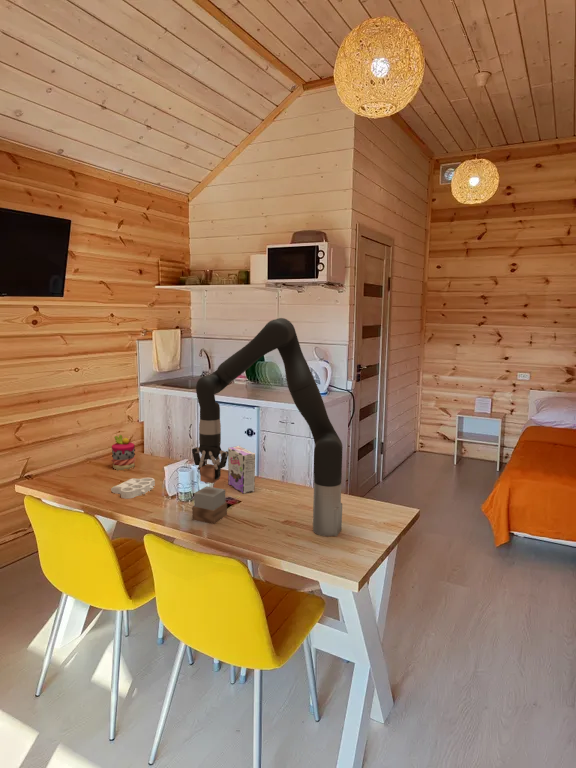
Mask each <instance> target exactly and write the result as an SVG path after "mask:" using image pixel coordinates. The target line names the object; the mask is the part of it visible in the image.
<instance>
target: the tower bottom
mask: <svg viewBox="0 0 576 768" xmlns="http://www.w3.org/2000/svg"><path fill="white" fill-rule="evenodd" d="M191 508H192V509H191V510H192V513H191V514H192V515H191V516H192V518H191V519H192V521H196V522H201V523H202V522H203V523H206V524H211V525H215V524H217V523H218V522H219V521H221V520H222V519H224V518H225V517H227V516H228V502H226V501H225V503H224V504H223V505H221V506H220V507H218V508H217V509H215V510H209V509H204V508H199V507H194V506H192V507H191ZM224 516H225V517H224ZM223 517H224V518H223ZM220 519H221V520H220ZM216 522H217V523H216Z"/></svg>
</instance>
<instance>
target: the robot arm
mask: <svg viewBox="0 0 576 768" xmlns="http://www.w3.org/2000/svg"><path fill="white" fill-rule="evenodd" d="M275 350H277V351H278V353H279V355H280V357H281V359H282V362H283V366H284V371H285V378H286V384H287V388H288V391H289V393H290V395H291V398H292V400H293V402H294V405H295V407H296V408H297V410H298V412H299V413H300V415H301V416H302V417H303V419H304V420H305V421H306V424H307V425H308V427H309V429H310V432H311V435H312V438H313V441H314V444H315V445H314V449H313V506H312V507H313V511H312V531H313V533H315V534H316V535H318V536H323V537H337V536H338V535H339V534H340V533H341V531H342V528H343V527H342V526H343V525H342V524H343V503H342V501H341V500H342V476H343V475H342V474H343V471H342V470H343V448H344V447H343V443H342V440H341V438H340V437H339V435H338V434H337V431H336V430H335V427H334V426H333V424H332V422H331V420H330V417H329V415H328V412H327V410H326V406H325V402H324V401H323V396H322V394H321V391H320V389H319V387H318V385H317V381H316V380H315V378H314V376H313V373H312V372H311V369H310V367H309V364H308V362H307V360H306V358H305V356H304V354H303V351H302V349H301V345H300V342H299V339H298V335H297V333H296V329H295V327H294V324H293V323H292V322H291V321H290V320H289V319H287V318H284V317H279V318H275V319H272V320H270V321H268V322H267V323H266V324H265V326H264V327H263V328H262V329H261V330H260V331H259V332H258V333H257V335H255V336H254V338H253V339H251V340H250V341H249V342H248V343H247V344H246V345H244V346H243V347H242V348H241V349H238V350H237V351H236V352H234V353H233V354H232V355H231V356H229V357H228V358H227V359H225V360H224V361H222V363H220V364H219V365H218V367H217V369H216V370H214V372H213V373H210V374H209V375H203V376H201V377H200V378H199V379H198V380H197V381H196V386H195V391H196V392H195V393H196V397H197V401H198V402H197V403H198V405H199V424H198V425H199V427H198V435H199V436H198V438H199V439H198V441H199V442H198V443H199V447H193V448H192V449H191V451H192V457H193V462H194V465H199V467H198V468H199V469H200V468H201V467H203V466H205V464H207V461H208V460H209V461H211V463H212V465H214V467H215V479H216V480H217V479H219V477H220V478H221V474H222V473H221V469H223V468H225V467H226V465H227V463H228V462H227V461H228V450H226V451H225V450H222V448H221V443H222V442H221V435H222V431H221V429H222V428H221V427H222V425H221V406H220V403H219V402H218V401H217V402H216V397H215V395H217V394H219V393H220V392H221V391H223V390H224V389H226V387H227V386H229V384H230V383H232V382H233V381H234V380H236V379H237V378H238V377H239V376H241V375H243V373H245V372H246V371H247V370H248V369H249V368H251V367H252V366H253V365H254V364H255V363H256V362H257V361H258V360H259V359H260V358H262V357H263V356H265V355H267V354H269V353H271V352H273V351H275ZM219 480H220V479H219ZM217 481H218V480H217Z"/></svg>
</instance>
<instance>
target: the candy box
mask: <svg viewBox="0 0 576 768" xmlns="http://www.w3.org/2000/svg"><path fill="white" fill-rule="evenodd" d="M227 451H228V457H227V461H228V462H227V463H228V464H227V465H228V466H227V467H228V468H227V469H228V471H227V472H228V473H227V475H228V477H227V480H228V481H227V482H228V483H227V484H228V485H229V486H230V485H231V487H232V488H233V489H236V490H237V491H238V492H240V493H241V492H242V493H241V494H243V493H244V494H250V493H253V492H255V485H256V484H255V483H256V477H255V476H256V453H254V452H253V451H250V450H248V449H246V448H244V447H242V446H241V445H237V446H231V447H228V449H227ZM249 492H250V493H249Z"/></svg>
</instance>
